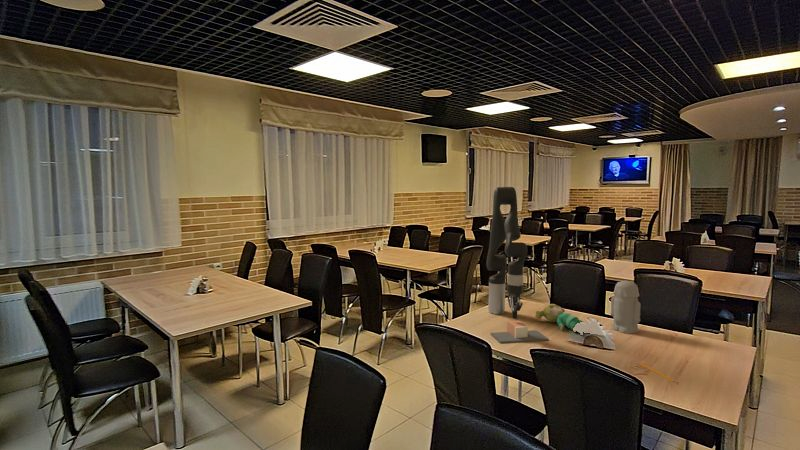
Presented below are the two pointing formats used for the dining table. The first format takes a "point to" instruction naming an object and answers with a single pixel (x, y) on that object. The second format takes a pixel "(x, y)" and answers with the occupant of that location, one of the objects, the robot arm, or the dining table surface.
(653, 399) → the dining table surface
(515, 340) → the mat
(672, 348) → the dining table surface
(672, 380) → the pencil
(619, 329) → the grey stone figurine
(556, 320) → the toy
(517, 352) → the dining table surface
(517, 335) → the block
